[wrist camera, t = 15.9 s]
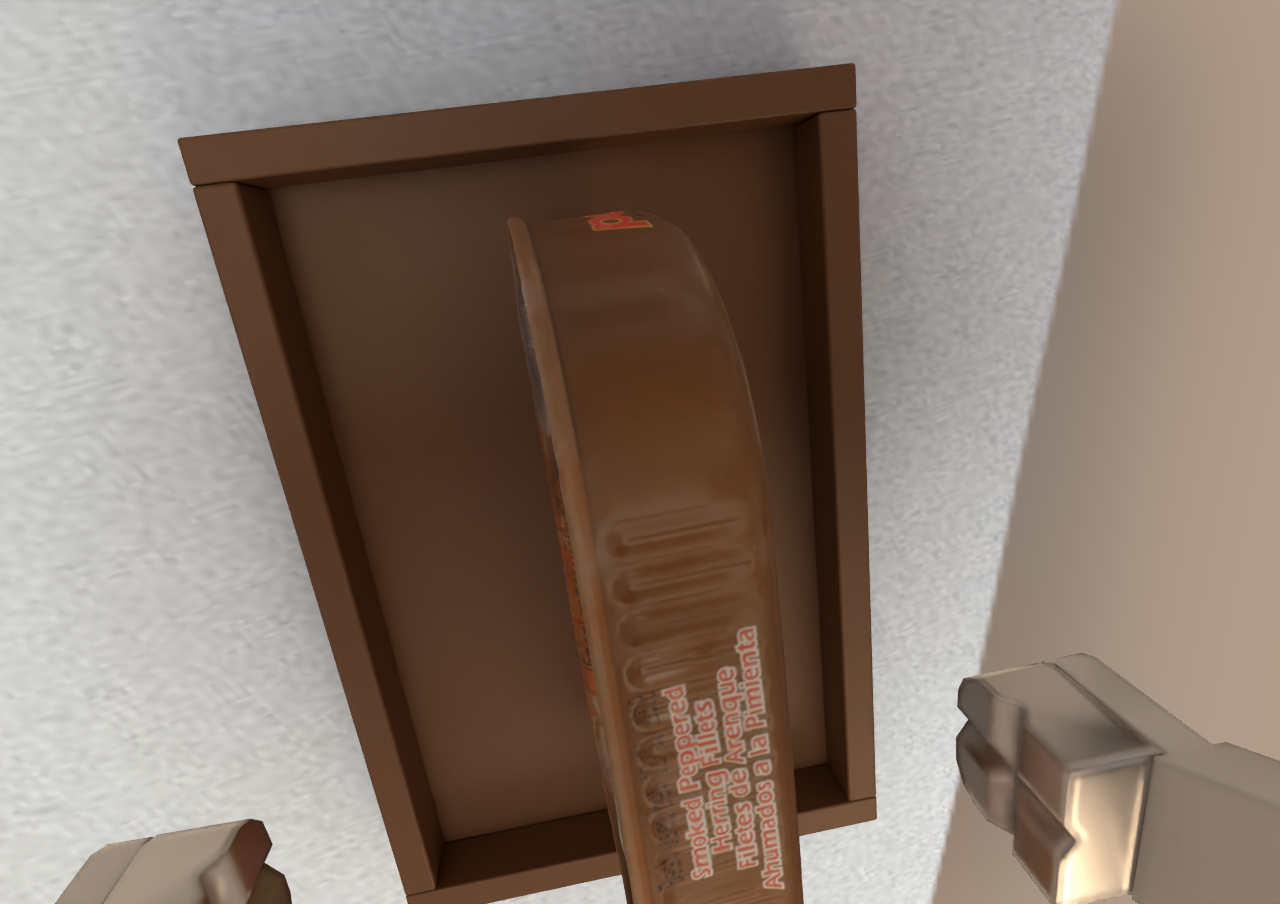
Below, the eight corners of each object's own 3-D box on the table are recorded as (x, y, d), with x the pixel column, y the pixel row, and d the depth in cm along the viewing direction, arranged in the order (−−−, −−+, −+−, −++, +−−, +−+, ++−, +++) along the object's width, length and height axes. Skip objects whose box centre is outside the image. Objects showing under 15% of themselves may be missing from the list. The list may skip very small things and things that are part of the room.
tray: (229, 155, 14) (174, 137, 12) (815, 88, 15) (856, 62, 13) (426, 851, 19) (411, 920, 17) (845, 765, 20) (877, 820, 18)
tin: (503, 231, 14) (447, 197, 6) (647, 212, 15) (769, 158, 7) (602, 793, 19) (643, 1194, 11) (712, 770, 19) (832, 1144, 11)
